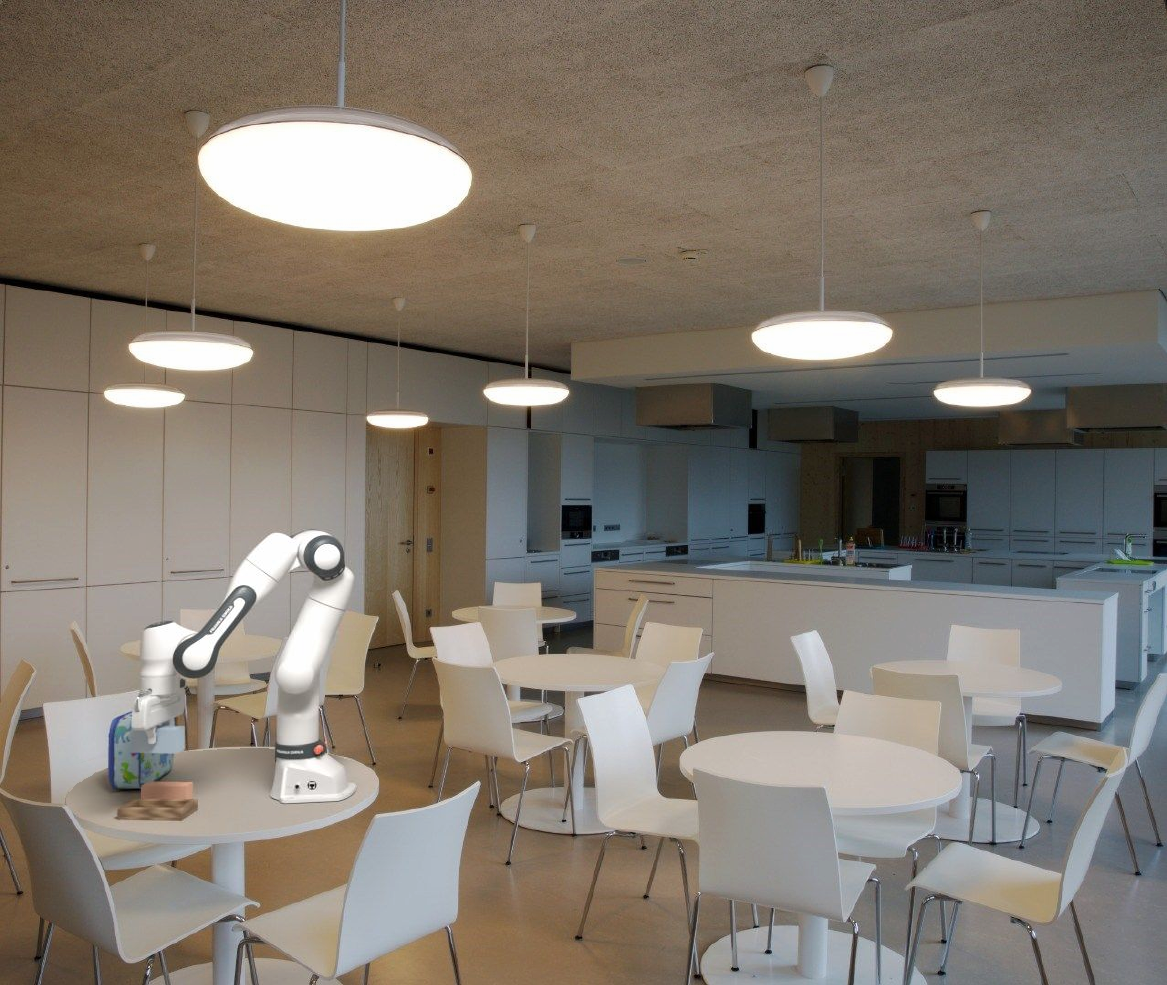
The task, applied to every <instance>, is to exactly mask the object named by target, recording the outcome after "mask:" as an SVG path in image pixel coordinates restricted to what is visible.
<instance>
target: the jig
mask: <svg viewBox="0 0 1167 985" xmlns="http://www.w3.org/2000/svg"><path fill="white" fill-rule="evenodd" d="M198 803H199V800H198V799H197V798H196V799H195V798H193V799H141V798H134V799H133V800H130V801H129V802H127V803H125V804H124V805H122V806H120V807H118V808H117V810H116V813H117V815H116V819H129V820H131V821H132V820H133V821H135V820H136V821H137V820H138V821H140V820H141V821H183V820H185V819H186V818H188V816H191V815H192V814H193V813H194V812H197V810H199V804H198Z"/></svg>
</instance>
